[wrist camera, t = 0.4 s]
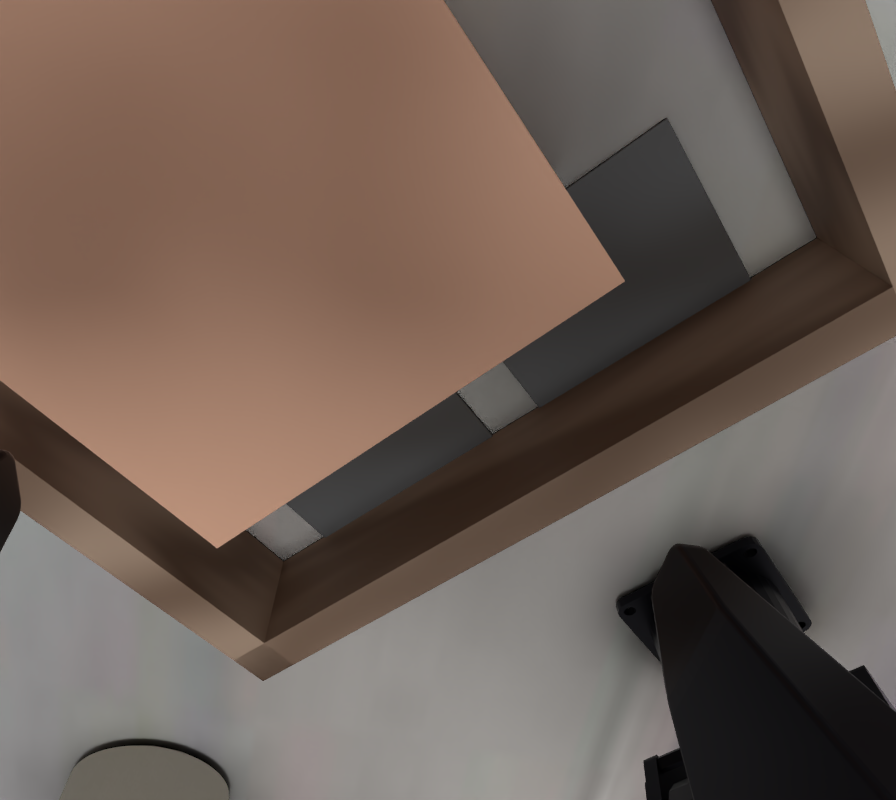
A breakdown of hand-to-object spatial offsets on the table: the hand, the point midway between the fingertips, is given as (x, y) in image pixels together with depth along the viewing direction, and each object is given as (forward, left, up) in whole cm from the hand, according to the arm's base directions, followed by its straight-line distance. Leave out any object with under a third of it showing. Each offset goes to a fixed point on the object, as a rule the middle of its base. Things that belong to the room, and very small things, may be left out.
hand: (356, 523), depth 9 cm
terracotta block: (+5, +1, -13) cm, 15 cm away
